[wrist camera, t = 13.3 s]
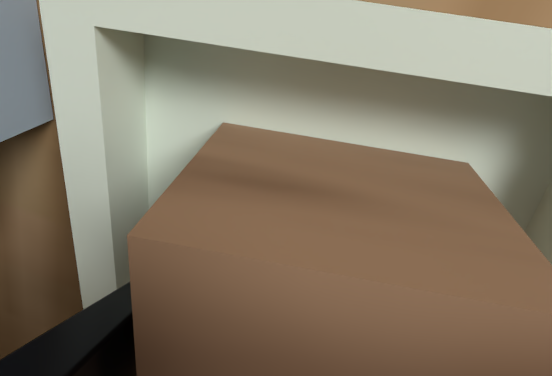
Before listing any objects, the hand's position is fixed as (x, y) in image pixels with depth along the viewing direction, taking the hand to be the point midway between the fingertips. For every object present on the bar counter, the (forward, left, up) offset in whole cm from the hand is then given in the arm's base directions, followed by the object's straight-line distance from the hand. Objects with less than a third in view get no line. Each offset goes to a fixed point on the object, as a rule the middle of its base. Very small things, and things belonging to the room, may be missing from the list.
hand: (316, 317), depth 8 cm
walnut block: (0, 0, -3) cm, 3 cm away
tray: (0, 0, -4) cm, 4 cm away
